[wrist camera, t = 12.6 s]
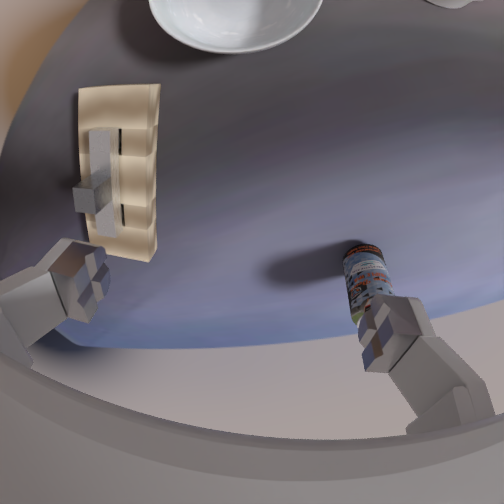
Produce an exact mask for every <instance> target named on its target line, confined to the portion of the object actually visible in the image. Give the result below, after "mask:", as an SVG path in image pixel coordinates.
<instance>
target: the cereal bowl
mask: <svg viewBox="0 0 504 504" xmlns="http://www.w3.org/2000/svg"><path fill="white" fill-rule="evenodd" d="M148 1H149V6H150V9H151V12H152V14H153V16H154V18H155V20H156V21H157V23H158V24H159V25H160V26H161V27H162V29H163V30H164V31H165V32H166V33H168V34H169V35H170V36H172V37H173V38H174V39H176V40H178V41H180V42H181V43H183V44H186V45H188V46H190V47H192V48H196V49H198V50H202V51H207V52H212V53H219V54H247V53H254V52H259V51H262V50H266V49H269V48H272V47H275V46H277V45H279V44H282V43H283V42H285V41H287V40H289V39H291V38H292V37H294V36H295V35H296V34H298V33H299V32H300V31H301V30H303V29H304V28H305V27H306V26H307V25H308V24H309V23H310V22H311V20H312V19H313V18H314V16H315V15H316V13H317V12H318V10H319V8H320V6H321V3H322V1H323V0H148Z"/></svg>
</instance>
